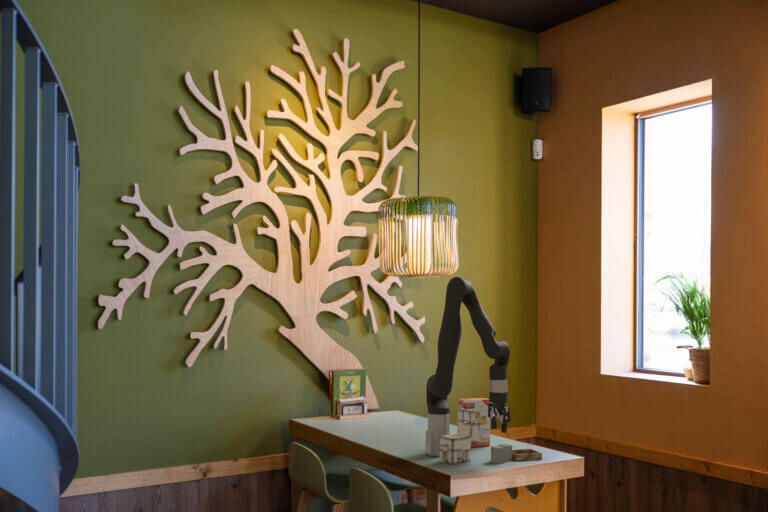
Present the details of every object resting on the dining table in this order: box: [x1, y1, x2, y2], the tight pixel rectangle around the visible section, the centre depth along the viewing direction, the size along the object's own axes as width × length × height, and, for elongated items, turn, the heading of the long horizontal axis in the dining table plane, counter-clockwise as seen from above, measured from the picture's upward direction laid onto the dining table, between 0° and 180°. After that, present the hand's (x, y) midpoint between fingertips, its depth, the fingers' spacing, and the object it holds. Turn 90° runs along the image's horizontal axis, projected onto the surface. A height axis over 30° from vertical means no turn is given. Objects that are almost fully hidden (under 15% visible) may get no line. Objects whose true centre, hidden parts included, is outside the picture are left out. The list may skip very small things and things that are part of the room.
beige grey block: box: [497, 443, 513, 462], centre depth 300 cm, size 4×4×6 cm
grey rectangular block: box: [490, 445, 505, 464], centre depth 296 cm, size 4×4×6 cm
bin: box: [512, 448, 543, 462], centre depth 304 cm, size 12×9×2 cm
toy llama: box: [439, 408, 480, 466], centre depth 297 cm, size 8×18×20 cm, turn 128°
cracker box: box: [456, 397, 491, 448], centre depth 327 cm, size 14×6×21 cm, turn 112°
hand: (499, 430), depth 297 cm, fingers open, 8 cm apart
